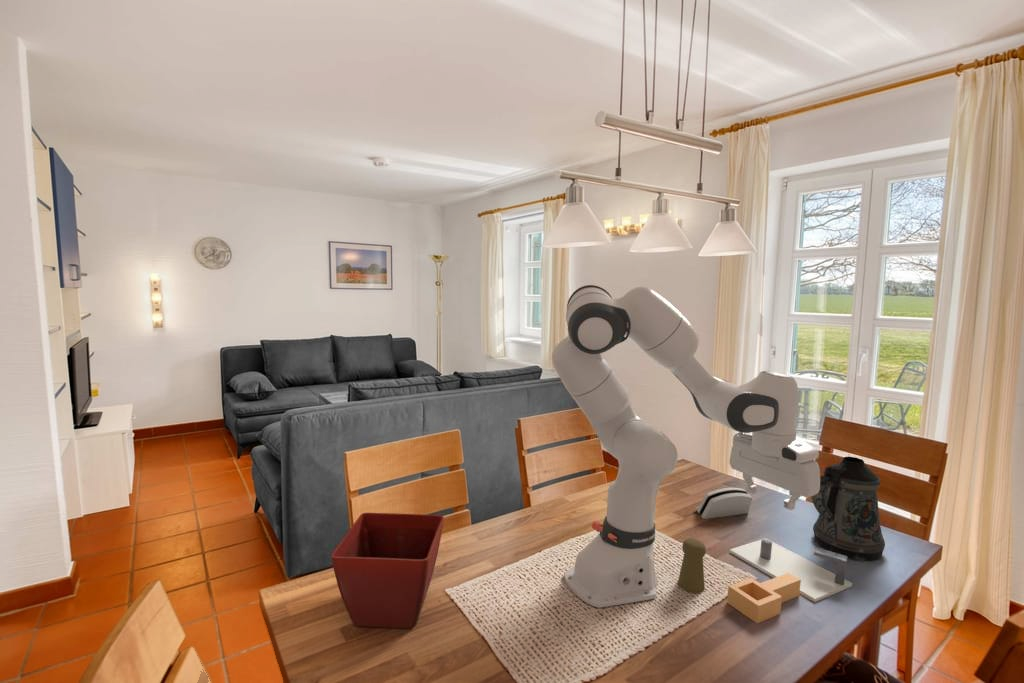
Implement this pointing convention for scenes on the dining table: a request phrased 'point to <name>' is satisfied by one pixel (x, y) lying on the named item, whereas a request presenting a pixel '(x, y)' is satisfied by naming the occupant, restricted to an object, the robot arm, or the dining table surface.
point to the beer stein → (849, 511)
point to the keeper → (837, 558)
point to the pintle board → (790, 568)
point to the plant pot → (387, 567)
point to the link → (763, 596)
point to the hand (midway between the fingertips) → (769, 500)
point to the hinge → (724, 503)
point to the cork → (692, 566)
